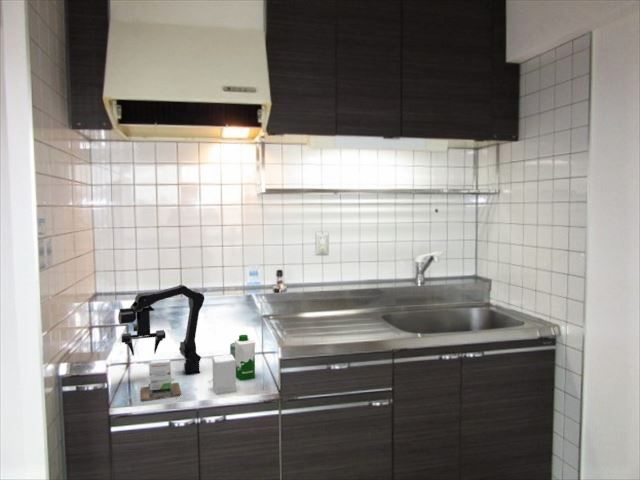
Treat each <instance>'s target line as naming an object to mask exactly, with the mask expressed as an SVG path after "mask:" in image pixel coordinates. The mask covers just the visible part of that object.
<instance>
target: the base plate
mask: <svg viewBox="0 0 640 480" xmlns="http://www.w3.org/2000/svg"><path fill="white" fill-rule="evenodd" d="M180 395H181V396H182V391H181V388H180V384H179V382H171V388H170V389H159V390H150V383H148V386H142V387H140V398H141V399H140V400H141V401H143V402H150V401H154V400H153V399H156V400H161V399H160V398H163V399H166V398H165V397H170V398H173V397H172V396H177V397H181V396H180Z"/></svg>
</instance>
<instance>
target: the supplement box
mask: <svg viewBox="0 0 640 480" xmlns="http://www.w3.org/2000/svg"><path fill="white" fill-rule="evenodd" d="M212 390H213V392H214V394H215V395H216V396H217V395H221V394H222V395H223V394H231V393H235V392H237V377H236V360H235V359H234V357H233V355H230V354H225V355H214V356H212Z"/></svg>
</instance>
